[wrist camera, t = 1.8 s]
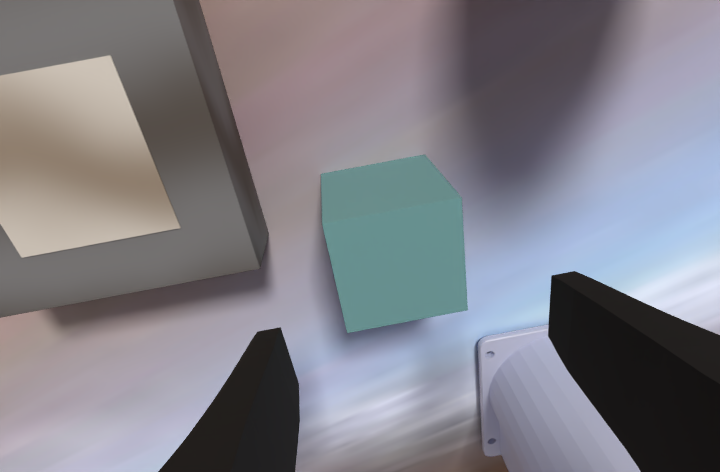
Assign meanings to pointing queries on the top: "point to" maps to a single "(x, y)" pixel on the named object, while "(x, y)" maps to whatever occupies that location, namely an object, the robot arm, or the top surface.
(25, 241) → the plinth
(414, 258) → the teal block
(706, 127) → the top surface
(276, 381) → the robot arm
